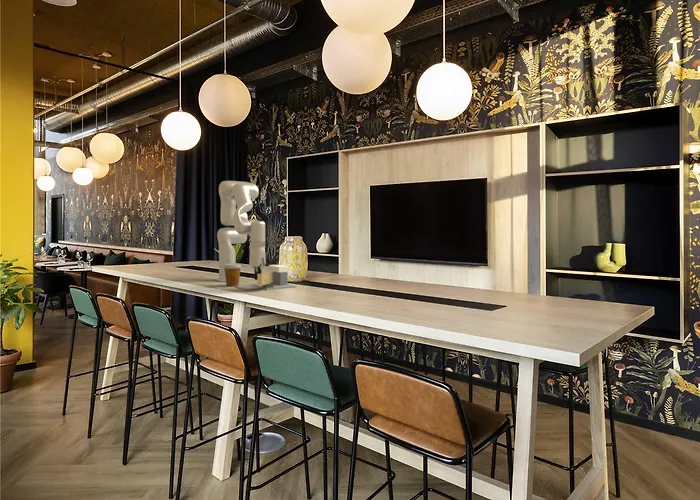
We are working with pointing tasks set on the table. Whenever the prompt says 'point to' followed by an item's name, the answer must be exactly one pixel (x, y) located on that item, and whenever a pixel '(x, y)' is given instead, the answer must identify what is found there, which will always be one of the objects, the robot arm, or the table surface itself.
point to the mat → (247, 287)
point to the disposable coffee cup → (232, 274)
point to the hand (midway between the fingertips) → (257, 279)
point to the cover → (278, 268)
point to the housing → (277, 282)
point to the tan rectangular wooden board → (265, 278)
